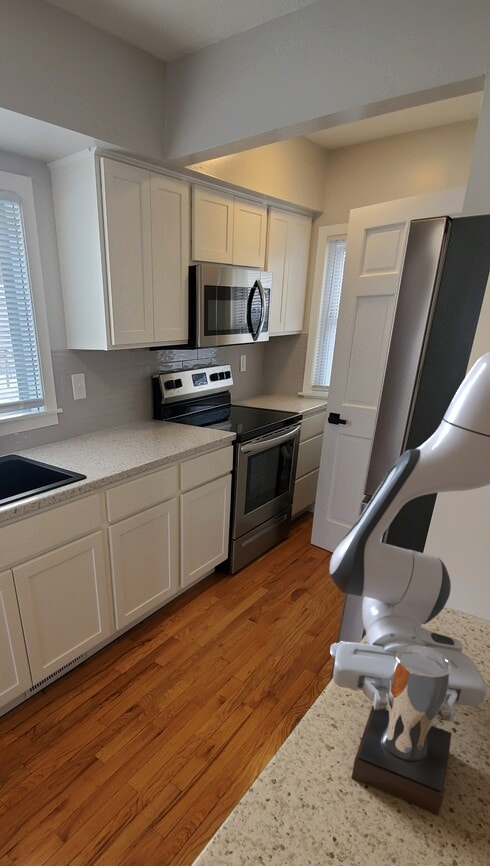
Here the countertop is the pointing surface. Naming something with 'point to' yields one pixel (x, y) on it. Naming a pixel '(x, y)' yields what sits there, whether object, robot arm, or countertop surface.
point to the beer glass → (414, 699)
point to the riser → (403, 766)
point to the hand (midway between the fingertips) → (413, 712)
